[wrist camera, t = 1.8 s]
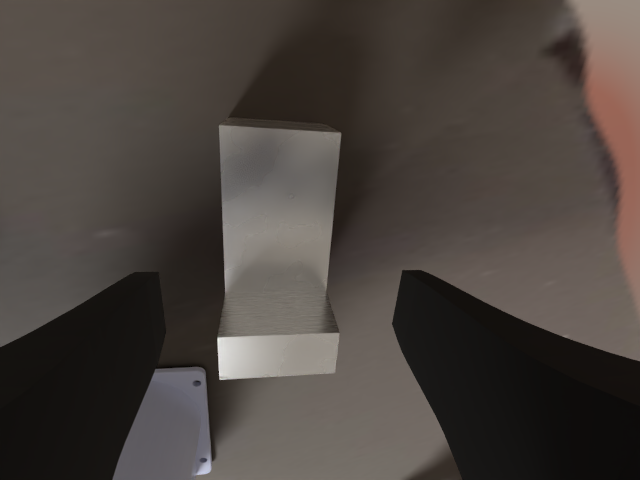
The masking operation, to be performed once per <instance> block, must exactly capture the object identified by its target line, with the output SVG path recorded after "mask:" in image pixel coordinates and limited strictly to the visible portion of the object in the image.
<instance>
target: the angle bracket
mask: <svg viewBox="0 0 640 480" xmlns="http://www.w3.org/2000/svg"><path fill="white" fill-rule="evenodd" d="M219 138H220V165H221V192H222V219H223V246H224V273H225V297H224V303H223V308H222V314H221V320H220V326H219V331H218V337H217V340H218V360H219V380H227V379H243V378H260V377H277V376H293V375H310V374H327V373H335V368H336V359H337V351H338V343H339V334H340V332H339V329H338V326H337V323H336V320H335V317H334V314H333V311H332V307H331V304H330V301H329V298H328V295H327V292H326V288H327V277H328V267H329V257H330V246H331V236H332V225H333V215H334V204H335V194H336V183H337V173H338V163H339V152H340V142H341V132H339V131H337V130H335V129H333V128H331V127H330V126H328V125H326V124H324V123H310V122H295V121H280V120H265V119H250V118H235V117H228V118H227V119H226V120H225V121H223V122H222V123H221V124H220V125H219Z"/></svg>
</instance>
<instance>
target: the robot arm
mask: <svg viewBox="0 0 640 480" xmlns="http://www.w3.org/2000/svg"><path fill="white" fill-rule="evenodd" d="M392 325H393V328H394V331H395V334H396V337H397V340H398V343H399V345H400V348H401V350H402V353H403V355H404V357H405V359H406V361H407V363H408V365H409V366H410V368H411V370H412V372H413V374H414V376H415V378H416V380H417V382H418V383H419V385H420V387H421V389H422V391H423V393H424V395H425V397H426V398H427V400H428V402H429V404H430V406H431V408H432V410H433V412H434V413H435V415H436V417H437V419H438V422H439V424H440V426H441V428H442V430H443V432H444V434H445V437H446V439H447V442H448V444H449V447H450V449H451V451H452V454H453V456H454V459H455V461H456V464H457V466H458V469H459V471H460V474H461V477H462V479H463V480H640V361H636V360H632V359H629V358H626V357H622V356H619V355H616V354H612V353H609V352H606V351H603V350H600V349H597V348H594V347H591V346H588V345H585V344H582V343H579V342H576V341H573V340H570V339H568V338H565V337H562V336H559V335H557V334H554V333H552V332H549V331H547V330H544V329H542V328H539V327H537V326H534V325H532V324H530V323H527V322H525V321H523V320H520V319H518V318H516V317H514V316H512V315H510V314H508V313H505V312H503V311H501V310H499V309H497V308H495V307H493V306H491V305H489V304H487V303H485V302H483V301H481V300H479V299H477V298H475V297H473V296H472V295H470V294H468V293H466V292H464V291H462V290H460V289H458V288H456V287H455V286H453V285H451V284H449V283H447V282H445V281H443V280H441V279H439V278H437V277H435V276H433V275H431V274H429V273H427V272H424V271H421V270H402V275H401V281H400V286H399V291H398V296H397V301H396V307H395V312H394V317H393V322H392ZM165 334H166V328H165V320H164V312H163V304H162V296H161V288H160V280H159V272H135V273H133V274H130V275H129V276H127V277H125V278H123V279H121V280H120V281H118V282H116V283H115V284H113V285H111V286H110V287H108V288H107V289H105V290H103V291H102V292H100V293H98V294H97V295H95V296H93V297H92V298H90V299H89V300H87V301H85V302H84V303H82V304H80V305H79V306H77V307H75V308H74V309H72V310H70V311H68V312H66V313H65V314H63V315H61V316H59V317H57V318H56V319H54V320H52V321H50V322H49V323H47V324H45V325H43V326H41V327H40V328H38V329H36V330H34V331H32V332H30V333H28V334H26V335H25V336H23V337H21V338H19V339H17V340H15V341H13V342H10V343H8V344H6V345H4V346H2V347H0V480H195V478H196V475H200V474H207V473H209V472H210V471H211V469H212V455H211V441H210V427H209V413H208V398H207V384H206V372H205V370H204V369H203V368H201V367H183V368H165V369H156V367H157V364H158V361H159V357H160V353H161V350H162V346H163V342H164V338H165ZM196 380H198V381H200V382H196Z"/></svg>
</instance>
